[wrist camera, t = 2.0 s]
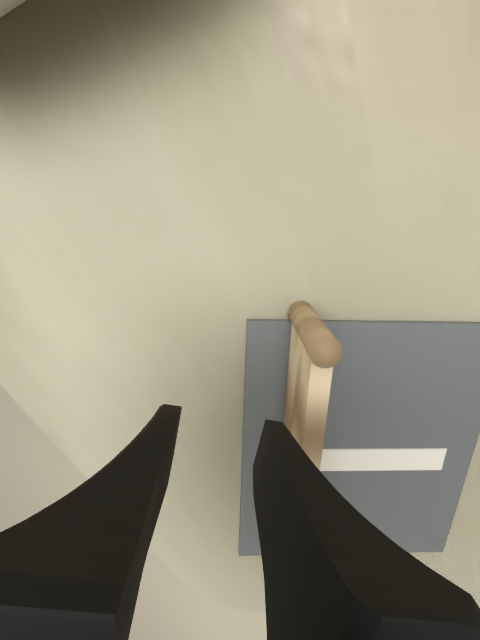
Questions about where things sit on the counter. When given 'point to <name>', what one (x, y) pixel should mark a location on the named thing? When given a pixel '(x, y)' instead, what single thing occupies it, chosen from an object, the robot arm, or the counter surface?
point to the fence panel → (309, 378)
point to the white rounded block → (9, 5)
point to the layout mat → (378, 421)
